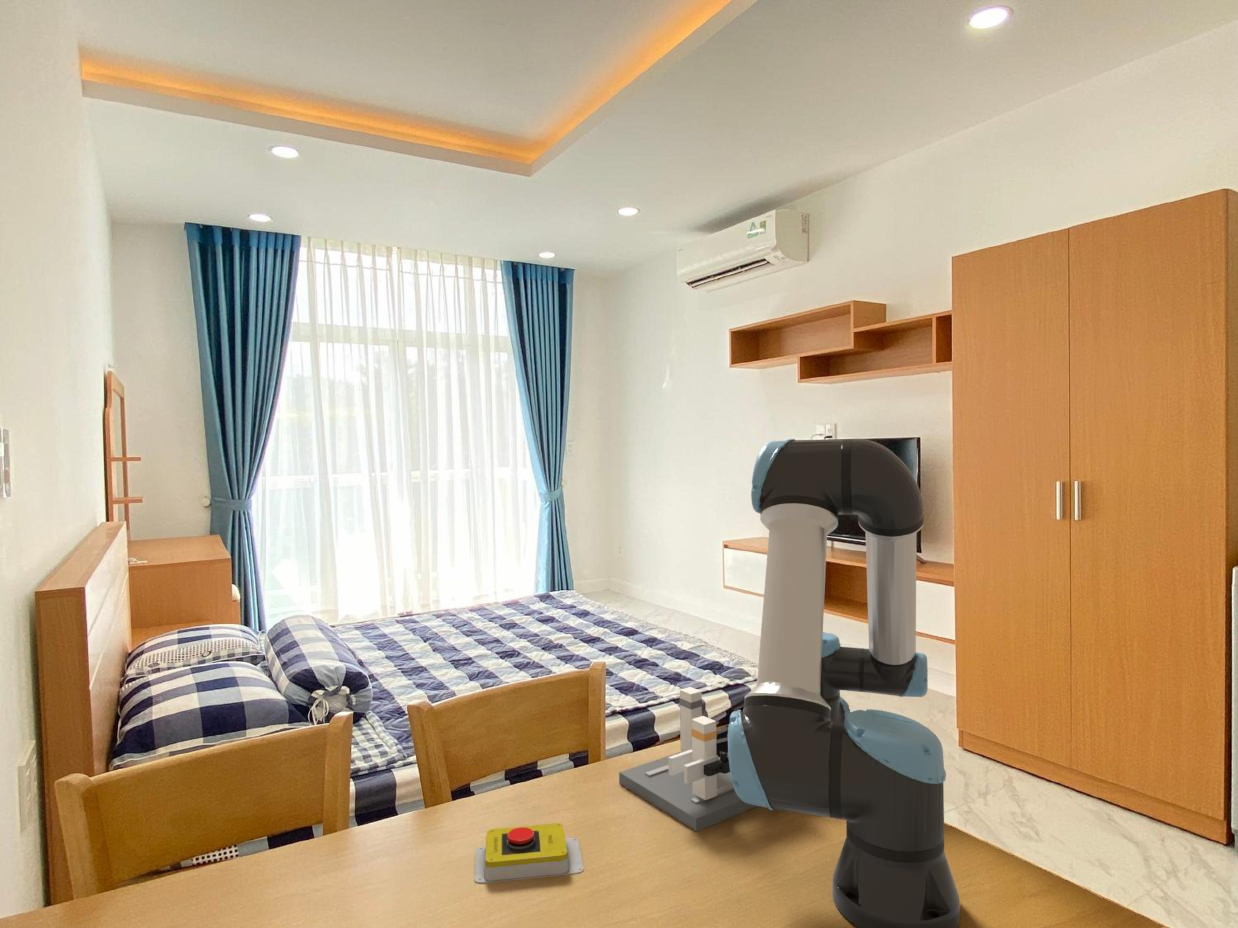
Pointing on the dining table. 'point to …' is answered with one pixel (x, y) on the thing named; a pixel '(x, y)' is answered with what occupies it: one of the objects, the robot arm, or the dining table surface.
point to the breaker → (688, 714)
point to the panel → (683, 794)
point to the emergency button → (527, 854)
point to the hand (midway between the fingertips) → (677, 770)
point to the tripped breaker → (704, 754)
